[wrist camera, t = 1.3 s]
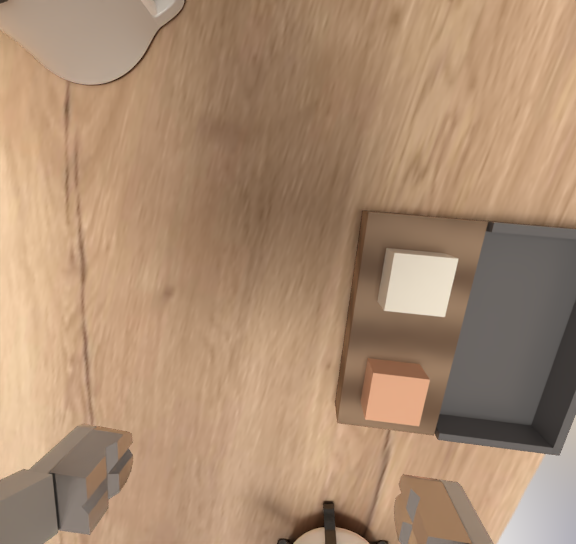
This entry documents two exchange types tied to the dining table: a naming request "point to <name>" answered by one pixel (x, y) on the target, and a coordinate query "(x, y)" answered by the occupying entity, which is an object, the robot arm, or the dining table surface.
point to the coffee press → (329, 532)
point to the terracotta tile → (394, 392)
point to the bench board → (404, 326)
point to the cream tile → (416, 282)
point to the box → (516, 344)
